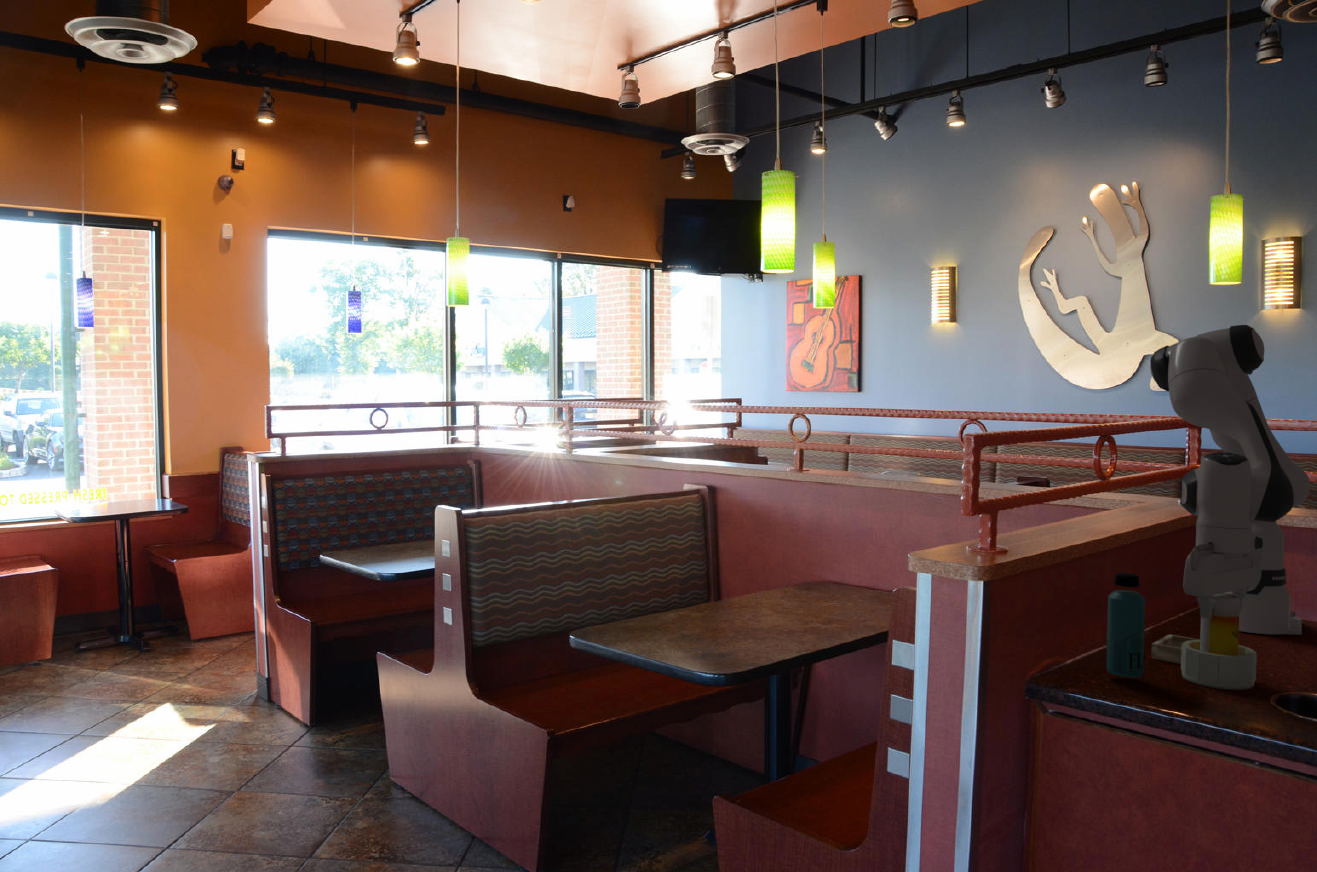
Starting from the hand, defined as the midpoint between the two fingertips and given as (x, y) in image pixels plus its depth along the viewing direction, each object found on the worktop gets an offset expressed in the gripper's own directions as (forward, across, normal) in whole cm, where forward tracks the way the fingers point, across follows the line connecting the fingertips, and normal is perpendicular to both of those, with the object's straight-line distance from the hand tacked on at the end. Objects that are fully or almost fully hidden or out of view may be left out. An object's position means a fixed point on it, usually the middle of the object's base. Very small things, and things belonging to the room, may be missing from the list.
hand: (1221, 614), depth 173 cm
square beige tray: (+12, +10, +11) cm, 19 cm away
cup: (+12, 0, 0) cm, 12 cm away
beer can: (+12, 0, 0) cm, 12 cm away
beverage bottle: (+12, -16, +9) cm, 22 cm away
